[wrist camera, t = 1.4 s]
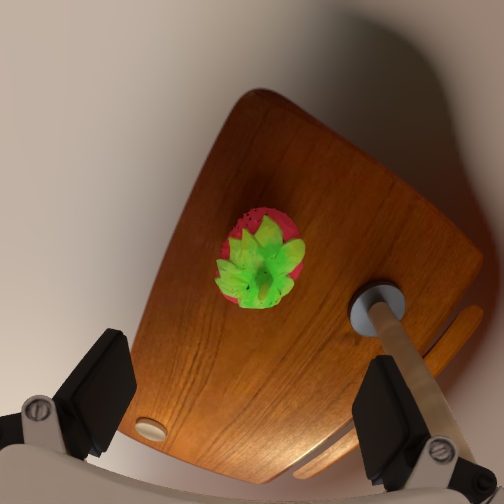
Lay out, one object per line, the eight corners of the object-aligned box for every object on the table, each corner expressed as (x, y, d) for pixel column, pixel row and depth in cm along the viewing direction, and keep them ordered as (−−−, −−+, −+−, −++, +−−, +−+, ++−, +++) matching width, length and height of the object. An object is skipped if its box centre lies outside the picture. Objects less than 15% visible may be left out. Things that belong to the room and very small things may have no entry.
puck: (134, 415, 36) (132, 419, 35) (165, 422, 36) (163, 427, 35) (140, 432, 37) (138, 436, 36) (169, 439, 37) (167, 444, 36)
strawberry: (314, 222, 25) (341, 267, 15) (266, 287, 27) (263, 357, 17) (258, 184, 24) (250, 206, 14) (212, 253, 26) (181, 311, 17)
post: (355, 278, 26) (449, 467, 7) (408, 282, 26) (523, 435, 7) (342, 330, 28) (393, 514, 9) (392, 331, 28) (467, 489, 9)
